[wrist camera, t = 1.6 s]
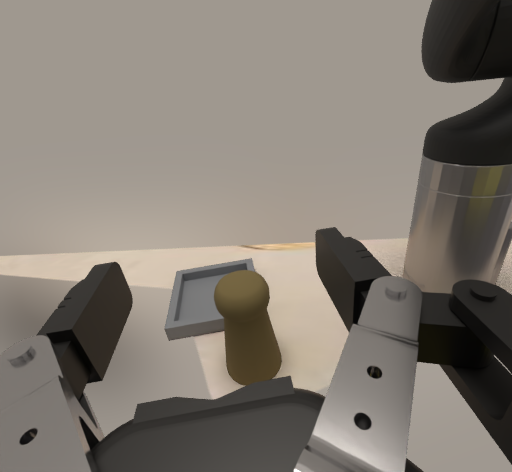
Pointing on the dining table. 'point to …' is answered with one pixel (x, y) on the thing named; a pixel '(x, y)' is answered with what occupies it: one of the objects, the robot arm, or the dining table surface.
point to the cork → (247, 327)
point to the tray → (198, 300)
